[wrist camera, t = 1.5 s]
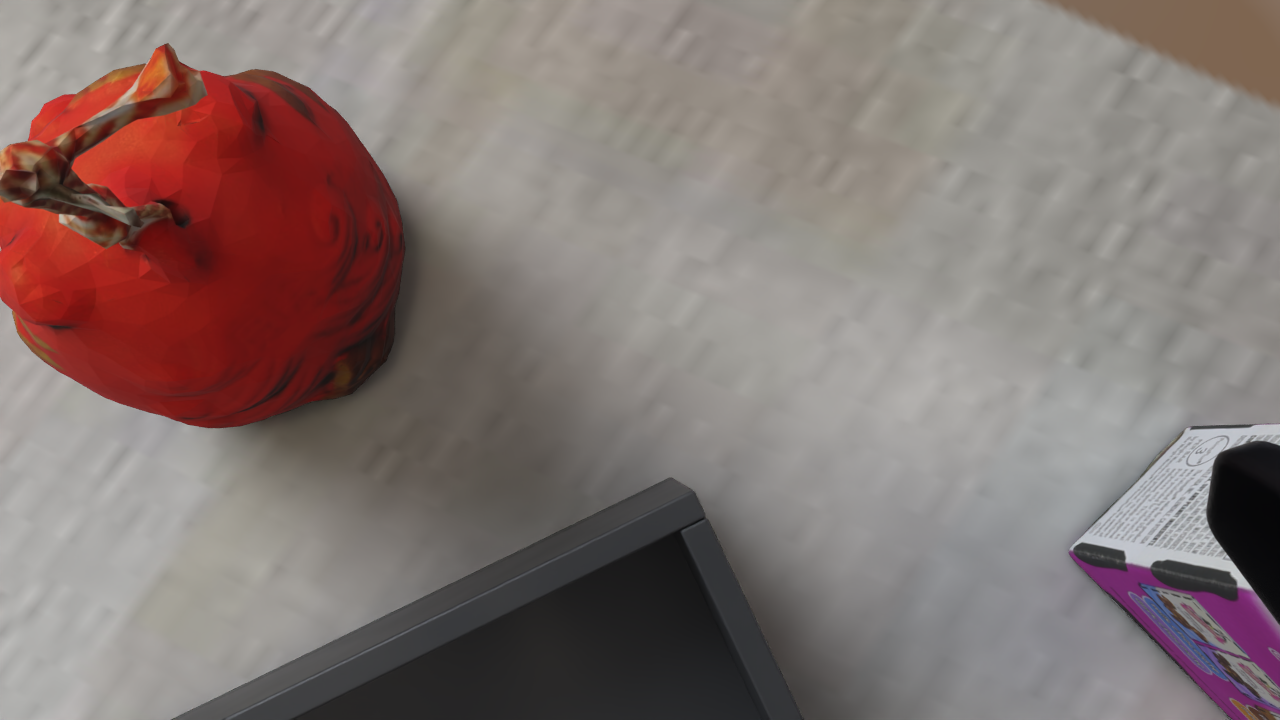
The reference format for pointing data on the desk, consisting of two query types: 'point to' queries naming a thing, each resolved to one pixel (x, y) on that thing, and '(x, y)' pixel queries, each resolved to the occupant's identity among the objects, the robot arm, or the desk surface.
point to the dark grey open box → (552, 637)
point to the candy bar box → (1189, 574)
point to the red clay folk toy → (200, 243)
